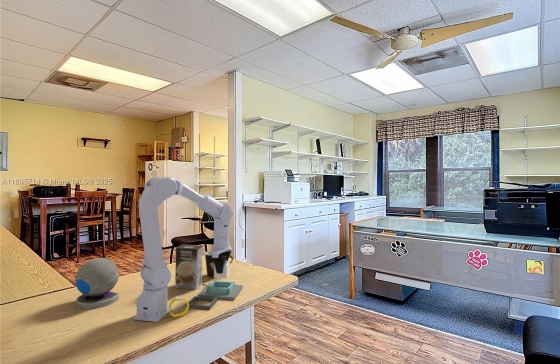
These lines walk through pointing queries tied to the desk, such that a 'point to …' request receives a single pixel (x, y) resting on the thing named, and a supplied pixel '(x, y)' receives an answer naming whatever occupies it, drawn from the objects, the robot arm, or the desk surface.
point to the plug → (225, 271)
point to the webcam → (96, 283)
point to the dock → (221, 290)
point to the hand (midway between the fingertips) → (221, 271)
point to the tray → (202, 300)
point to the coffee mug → (211, 264)
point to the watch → (178, 298)
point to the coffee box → (188, 266)
